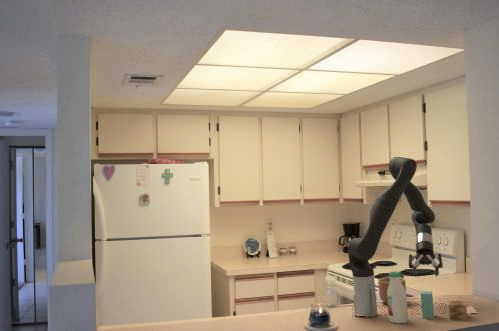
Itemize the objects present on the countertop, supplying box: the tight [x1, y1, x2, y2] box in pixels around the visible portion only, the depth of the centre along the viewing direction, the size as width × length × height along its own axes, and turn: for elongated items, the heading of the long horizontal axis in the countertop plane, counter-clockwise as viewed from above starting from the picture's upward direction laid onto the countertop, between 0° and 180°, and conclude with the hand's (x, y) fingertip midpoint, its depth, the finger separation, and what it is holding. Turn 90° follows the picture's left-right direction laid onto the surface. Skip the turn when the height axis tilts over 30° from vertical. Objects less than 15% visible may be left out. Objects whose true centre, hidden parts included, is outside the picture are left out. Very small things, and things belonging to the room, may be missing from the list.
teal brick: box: [420, 290, 435, 319], centre depth 205 cm, size 4×4×10 cm
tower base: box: [447, 300, 468, 321], centre depth 201 cm, size 6×6×6 cm
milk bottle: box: [387, 271, 409, 324], centre depth 202 cm, size 8×8×20 cm
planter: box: [377, 276, 407, 305], centre depth 230 cm, size 12×12×11 cm
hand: (426, 275), depth 216 cm, fingers open, 8 cm apart
